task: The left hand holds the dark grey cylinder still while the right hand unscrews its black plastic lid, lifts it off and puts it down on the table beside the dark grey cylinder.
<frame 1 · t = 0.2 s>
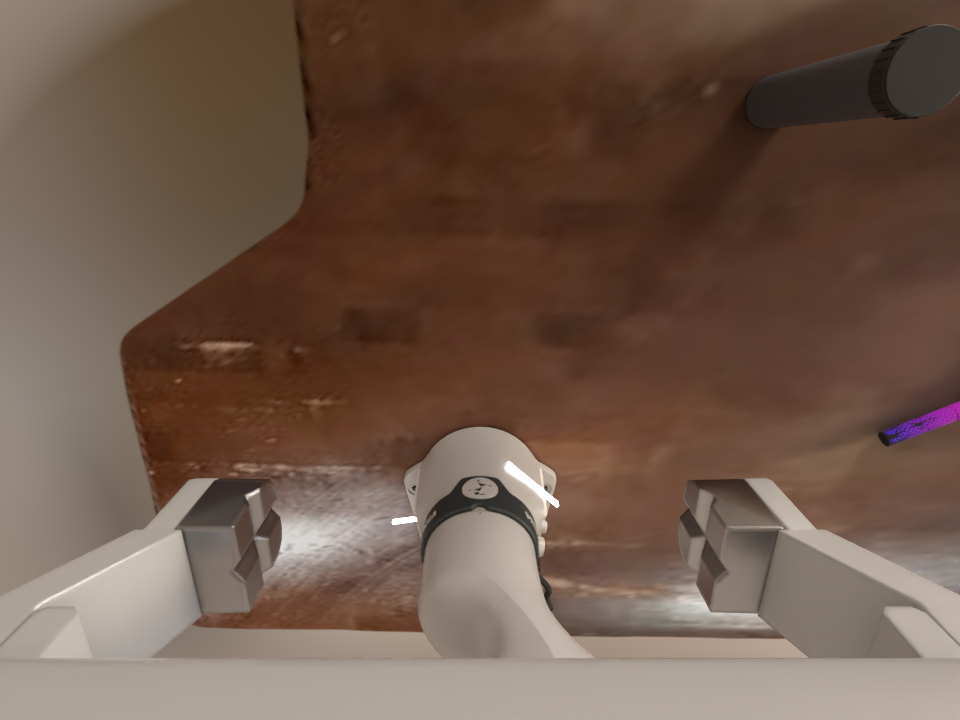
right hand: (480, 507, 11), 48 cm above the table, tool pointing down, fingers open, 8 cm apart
dark grey cylinder: (769, 102, 51), on the table
lid: (924, 72, 33), point 19 cm above the table, screwed on, not yet turned
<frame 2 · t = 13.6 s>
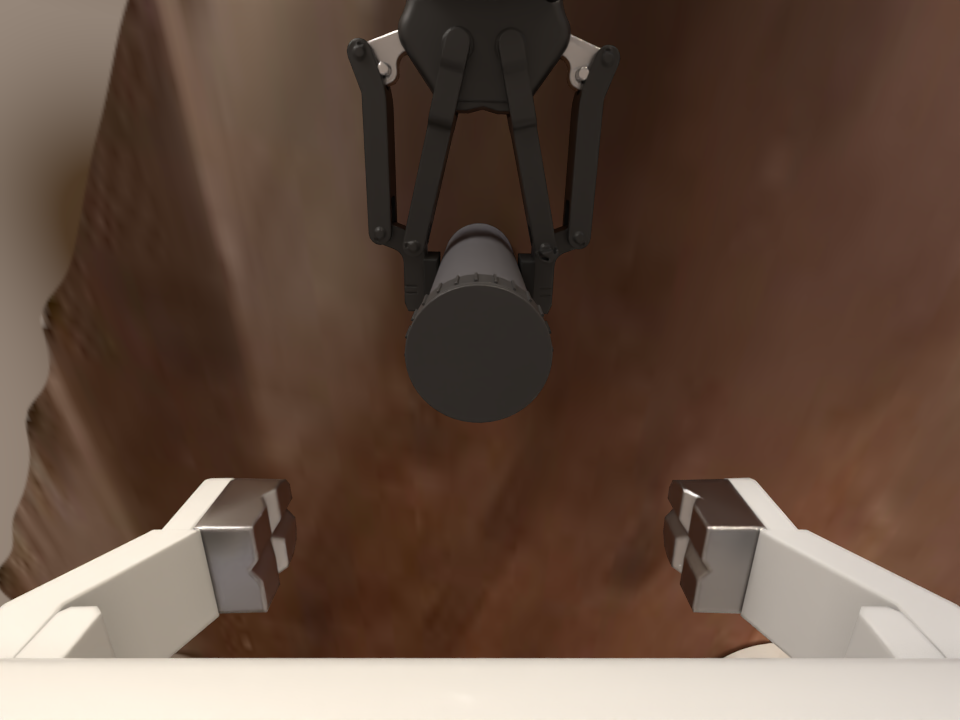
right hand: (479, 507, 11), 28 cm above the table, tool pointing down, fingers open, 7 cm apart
left hand: (477, 361, 33), fingers closed on dark grey cylinder, 5 cm apart
dark grey cylinder: (478, 258, 37), on the table, touching left hand
lid: (478, 353, 19), point 19 cm above the table, screwed on, not yet turned
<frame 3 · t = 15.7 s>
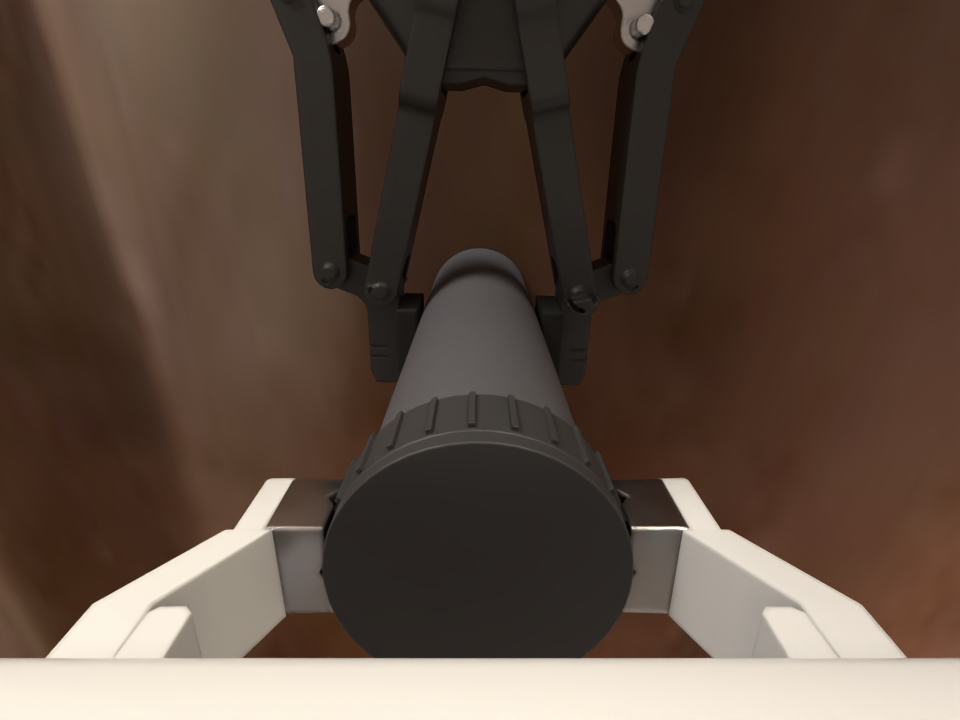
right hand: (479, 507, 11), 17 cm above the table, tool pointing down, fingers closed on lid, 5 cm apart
left hand: (476, 447, 23), fingers closed on dark grey cylinder, 5 cm apart
dark grey cylinder: (479, 294, 27), on the table, touching left hand
lid: (478, 564, 9), point 19 cm above the table, screwed on, not yet turned, touching right hand
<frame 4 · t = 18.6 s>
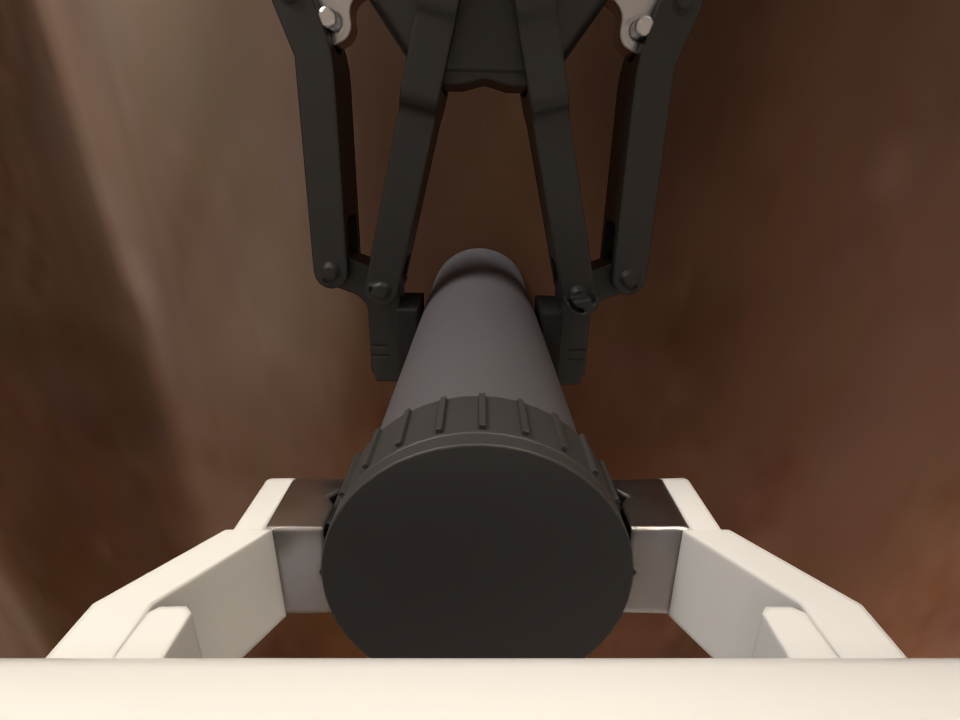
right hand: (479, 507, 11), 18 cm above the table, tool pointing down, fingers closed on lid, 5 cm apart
left hand: (476, 446, 23), fingers closed on dark grey cylinder, 5 cm apart
dark grey cylinder: (479, 294, 27), on the table, touching left hand
lid: (477, 566, 9), point 19 cm above the table, turned 56° so far, risen 0.1 cm, still on its thread, touching right hand
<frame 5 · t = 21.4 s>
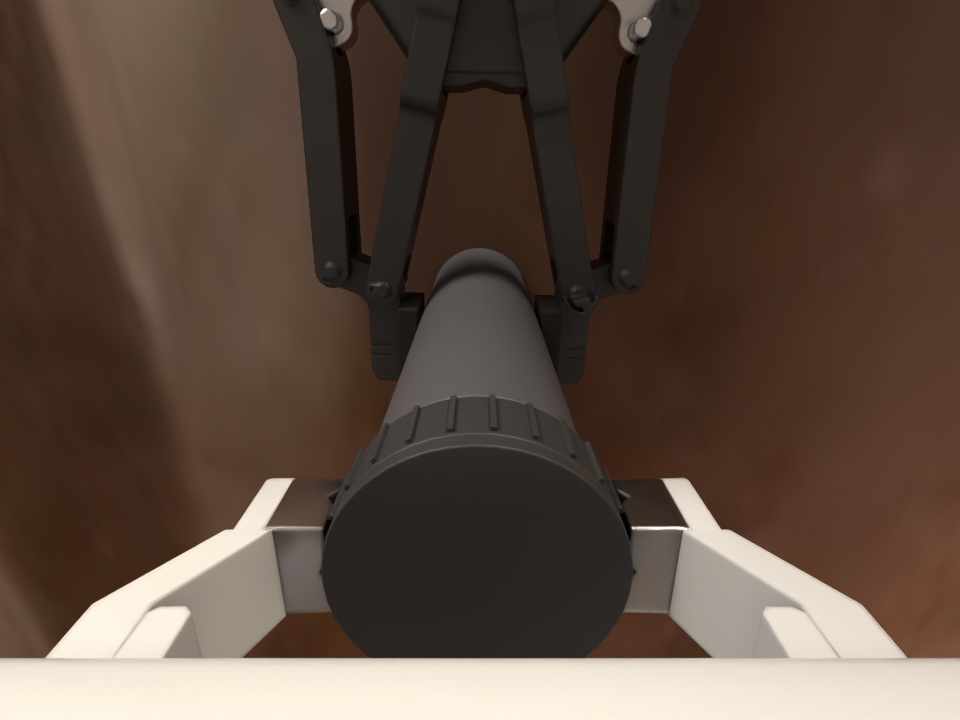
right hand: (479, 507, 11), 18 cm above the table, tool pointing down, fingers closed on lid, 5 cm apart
left hand: (476, 444, 23), fingers closed on dark grey cylinder, 5 cm apart
dark grey cylinder: (479, 293, 27), on the table, touching left hand
lid: (477, 566, 9), point 19 cm above the table, turned 112° so far, risen 0.3 cm, still on its thread, touching right hand
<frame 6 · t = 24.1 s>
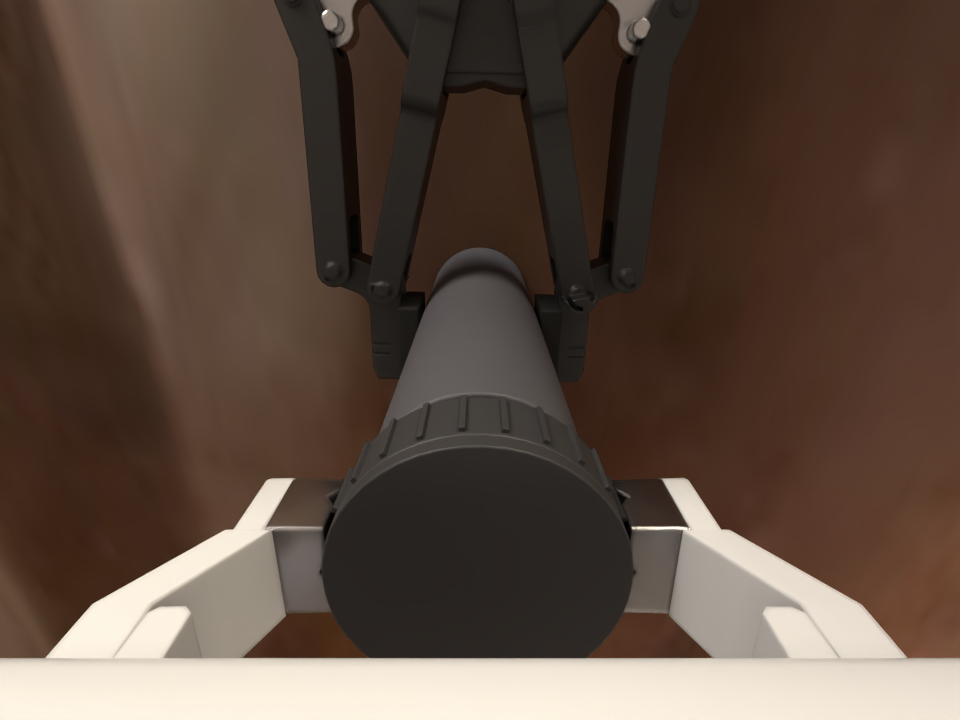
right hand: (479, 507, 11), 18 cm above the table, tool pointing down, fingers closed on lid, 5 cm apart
left hand: (476, 443, 23), fingers closed on dark grey cylinder, 5 cm apart
dark grey cylinder: (479, 293, 27), on the table, touching left hand
lid: (477, 567, 9), point 20 cm above the table, turned 168° so far, risen 0.4 cm, still on its thread, touching right hand
when the right hand's fingers open (2 cm above the table, at t = 31.2 s): lid drops 2 cm, point 1 cm above the table.
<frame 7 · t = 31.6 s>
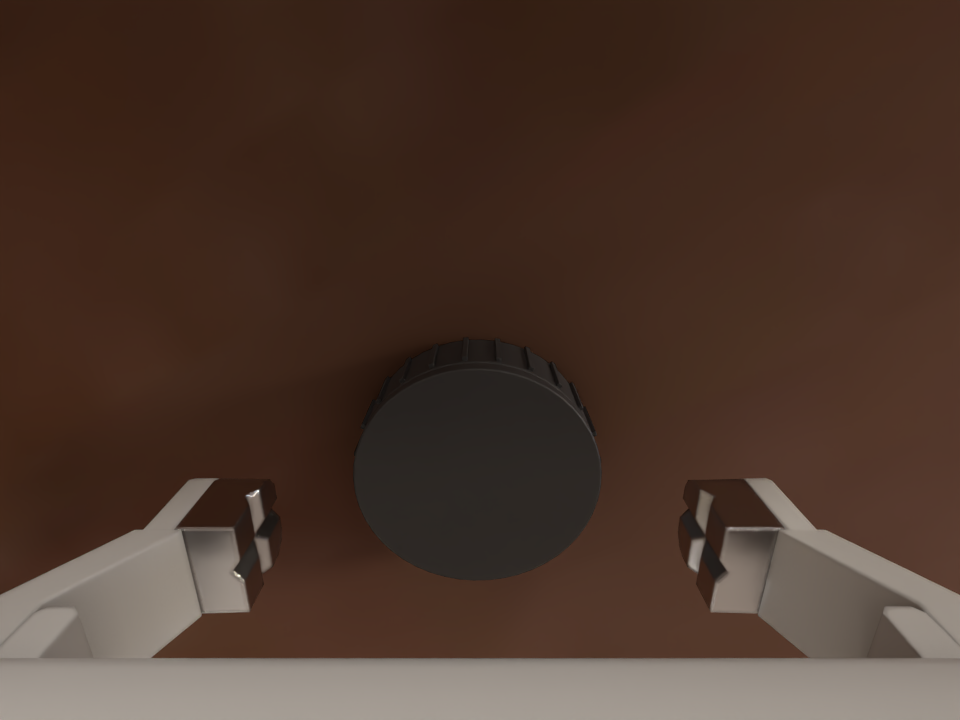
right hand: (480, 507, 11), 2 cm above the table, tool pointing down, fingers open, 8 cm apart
lid: (477, 474, 11), point 1 cm above the table, off its thread
when the left hand's fingers open (6 cm above the table, at t = 32.1 s): dark grey cylinder stays where it is, on the table.
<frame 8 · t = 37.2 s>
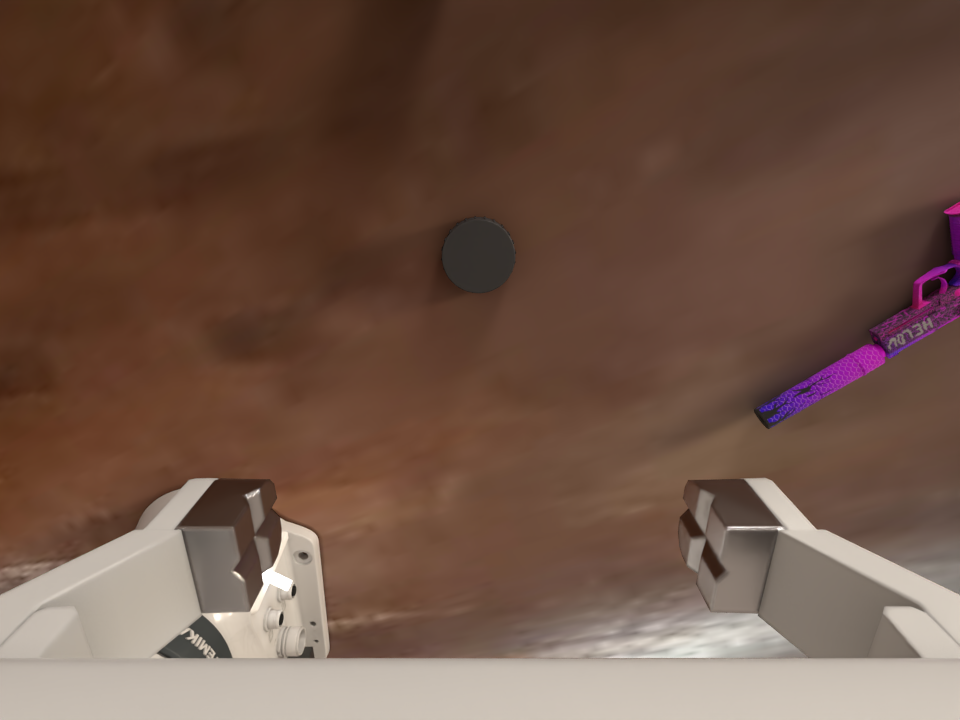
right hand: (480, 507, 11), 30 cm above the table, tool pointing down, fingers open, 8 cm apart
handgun: (876, 311, 40), on the table
lid: (478, 256, 37), point 1 cm above the table, off its thread
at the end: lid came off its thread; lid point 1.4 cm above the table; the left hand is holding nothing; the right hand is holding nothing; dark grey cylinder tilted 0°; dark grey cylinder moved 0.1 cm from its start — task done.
